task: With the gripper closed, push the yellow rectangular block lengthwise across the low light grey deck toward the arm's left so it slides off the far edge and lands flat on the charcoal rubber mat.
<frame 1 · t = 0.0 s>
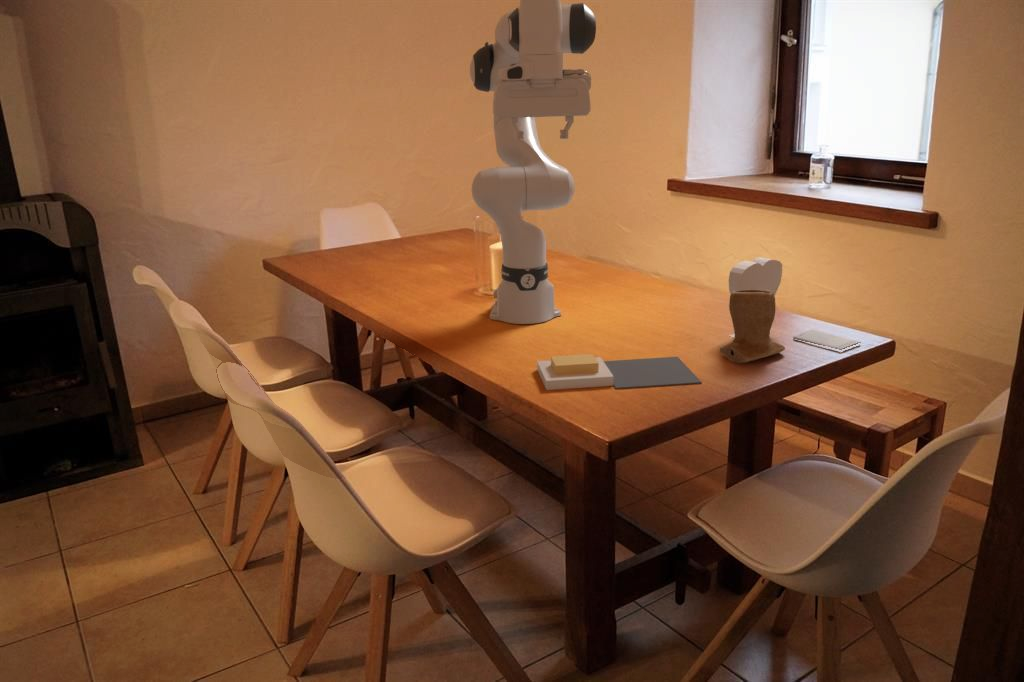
hand: (541, 139, 176), 48 cm above the table, fingers open, 8 cm apart
mat: (648, 372, 178), on the table
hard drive: (826, 345, 195), on the table
yellow rectangular block: (574, 368, 176), point 2 cm above the table, touching deck
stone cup: (747, 356, 188), on the table
heart sculpture: (751, 333, 203), on the table
deck: (574, 377, 177), on the table
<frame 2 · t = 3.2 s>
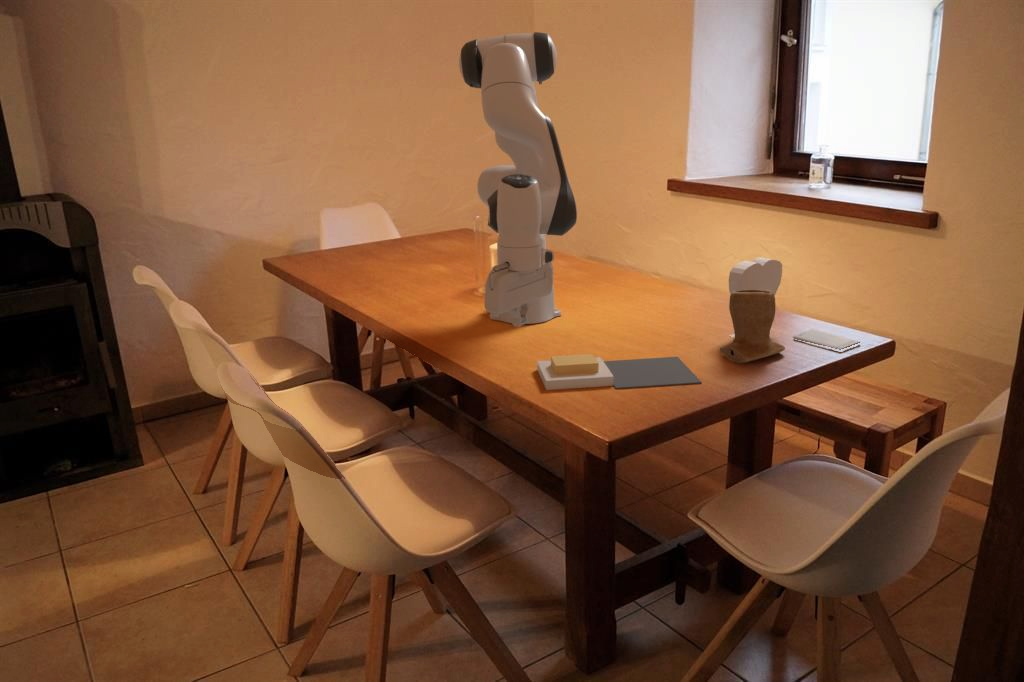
hand: (519, 324, 171), 12 cm above the table, fingers closed
nothing on the table moved.
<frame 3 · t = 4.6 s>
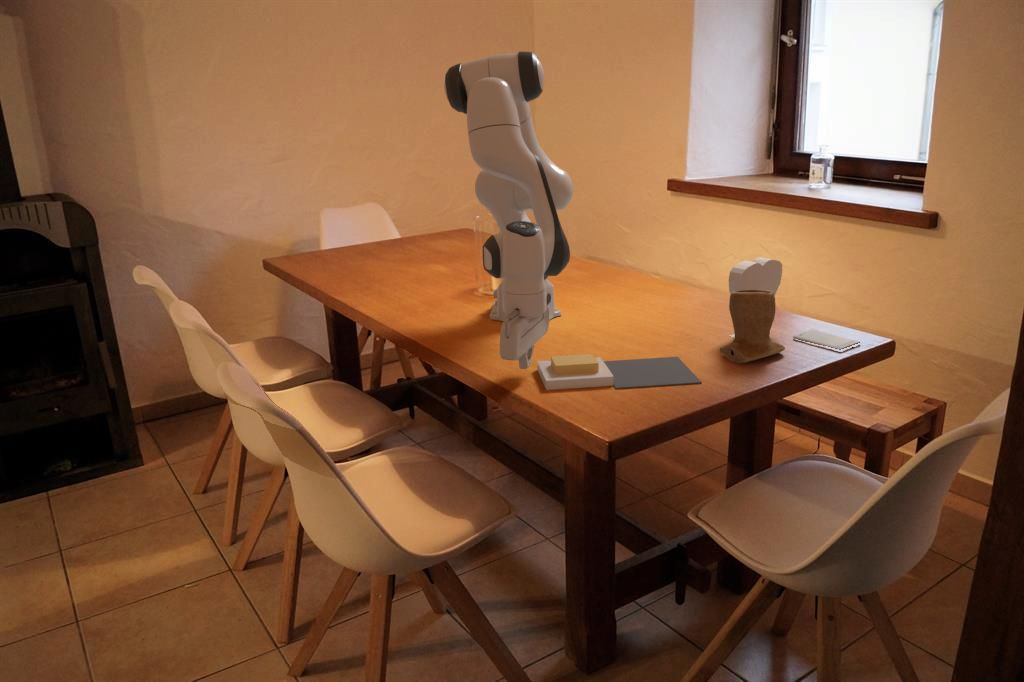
hand: (525, 366, 175), 3 cm above the table, fingers closed
nothing on the table moved.
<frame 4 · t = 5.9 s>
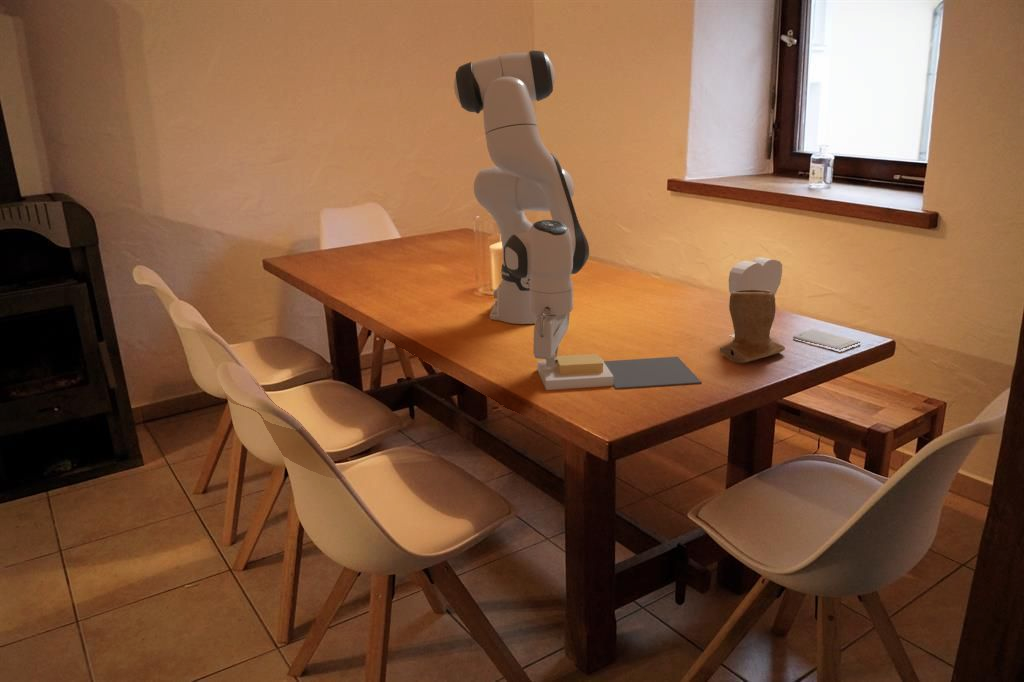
hand: (551, 365, 175), 3 cm above the table, fingers closed
yellow rectangular block: (579, 368, 176), point 2 cm above the table, touching deck, gripper
everything else where it was.
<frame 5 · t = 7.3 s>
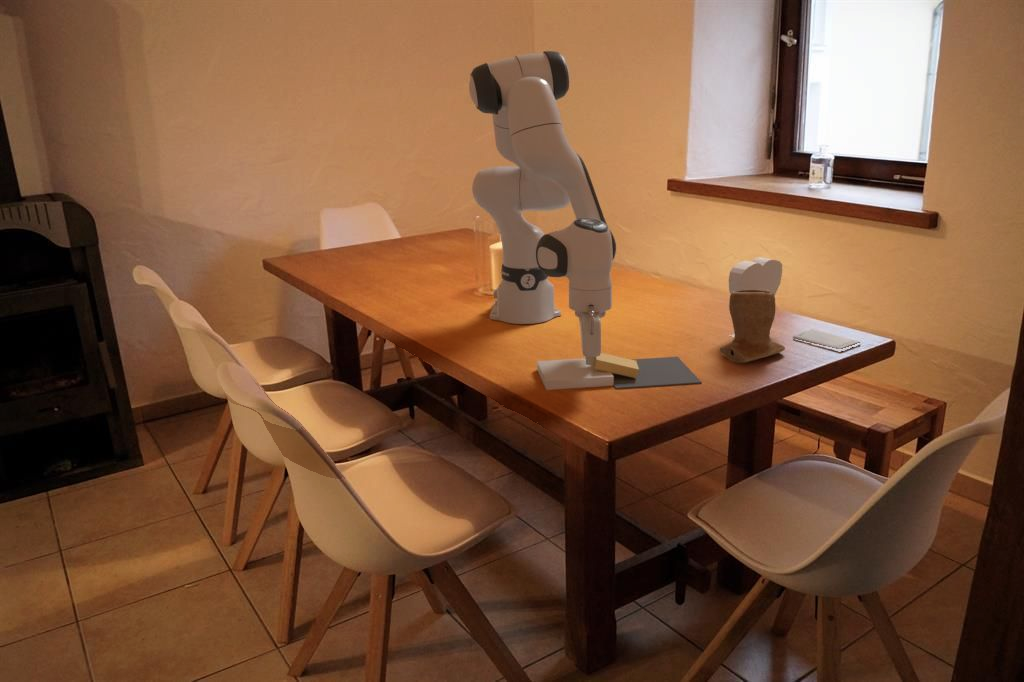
hand: (589, 362, 176), 3 cm above the table, fingers closed
yellow rectangular block: (614, 369, 176), point 2 cm above the table, tilted 14°, touching deck
everything else where it was.
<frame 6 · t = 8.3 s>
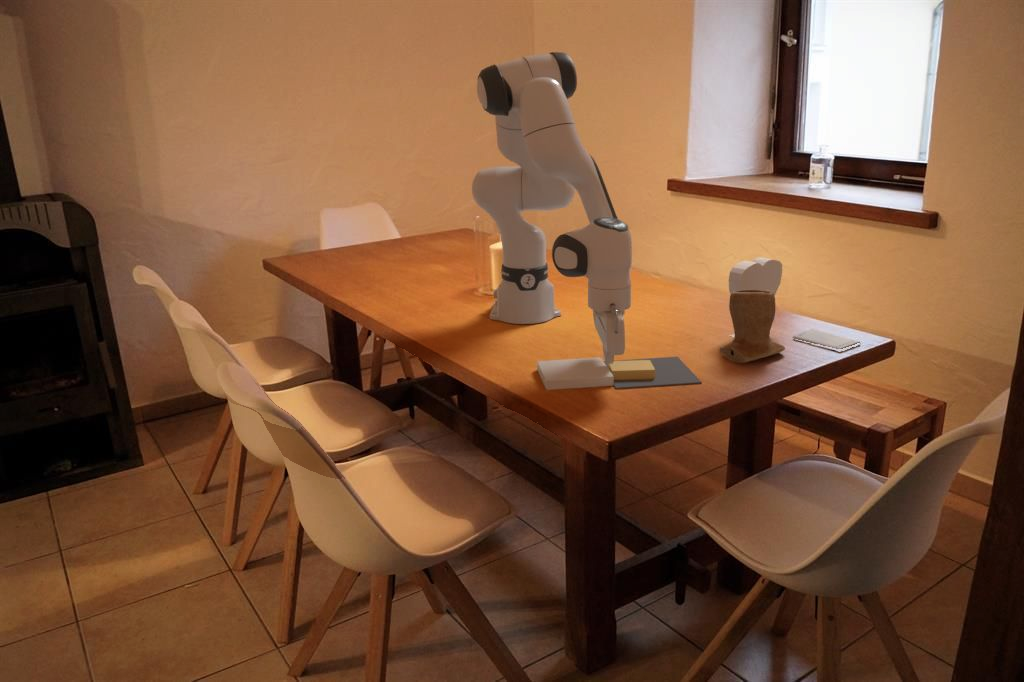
hand: (608, 361, 176), 3 cm above the table, fingers closed
yellow rectangular block: (631, 374, 177), resting on mat
everything else where it was.
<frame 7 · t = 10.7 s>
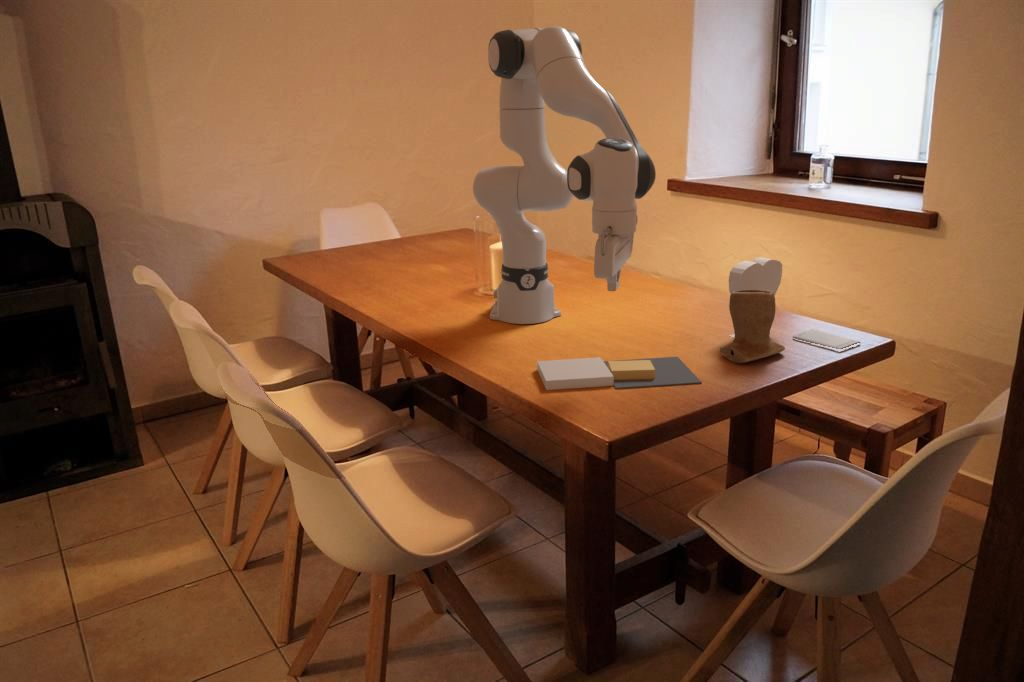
hand: (613, 289, 172), 19 cm above the table, fingers closed
nothing on the table moved.
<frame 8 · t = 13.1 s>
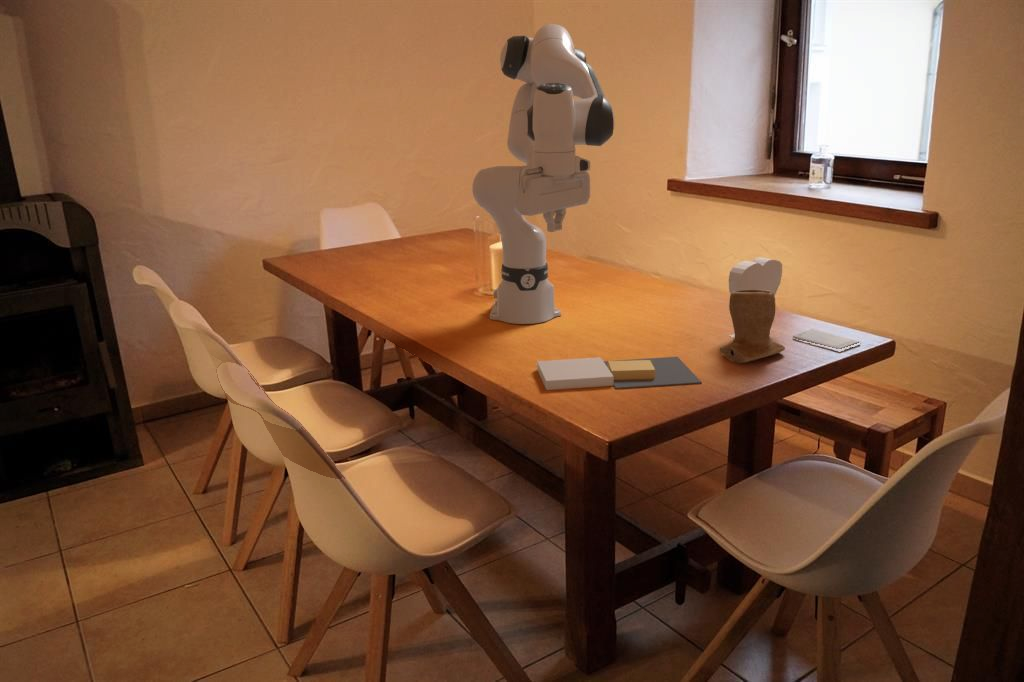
hand: (554, 230, 179), 29 cm above the table, fingers closed
nothing on the table moved.
at the end: yellow rectangular block inside the target area on the mat (4.1 cm from its centre), point 0.3 cm above the mat's base; yellow rectangular block tilted 0°; yellow rectangular block touching mat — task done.
